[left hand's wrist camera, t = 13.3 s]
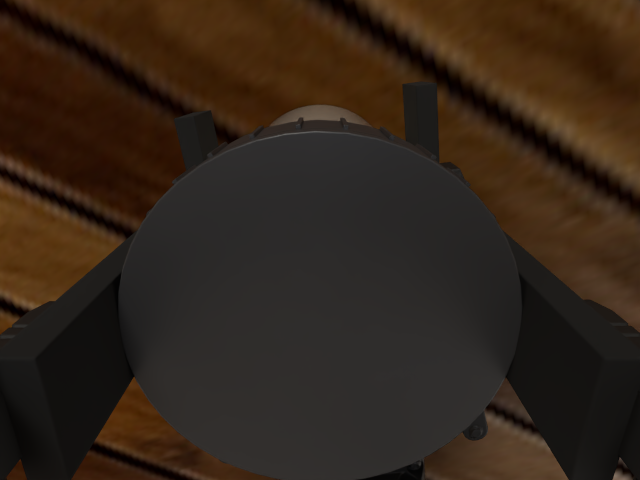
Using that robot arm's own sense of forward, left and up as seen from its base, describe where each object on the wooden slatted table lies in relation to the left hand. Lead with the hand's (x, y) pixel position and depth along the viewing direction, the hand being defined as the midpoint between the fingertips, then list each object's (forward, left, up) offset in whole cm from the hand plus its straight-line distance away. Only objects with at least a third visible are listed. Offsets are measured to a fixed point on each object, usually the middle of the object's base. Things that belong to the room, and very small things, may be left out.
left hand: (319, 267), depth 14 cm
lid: (0, 0, +3) cm, 3 cm away
